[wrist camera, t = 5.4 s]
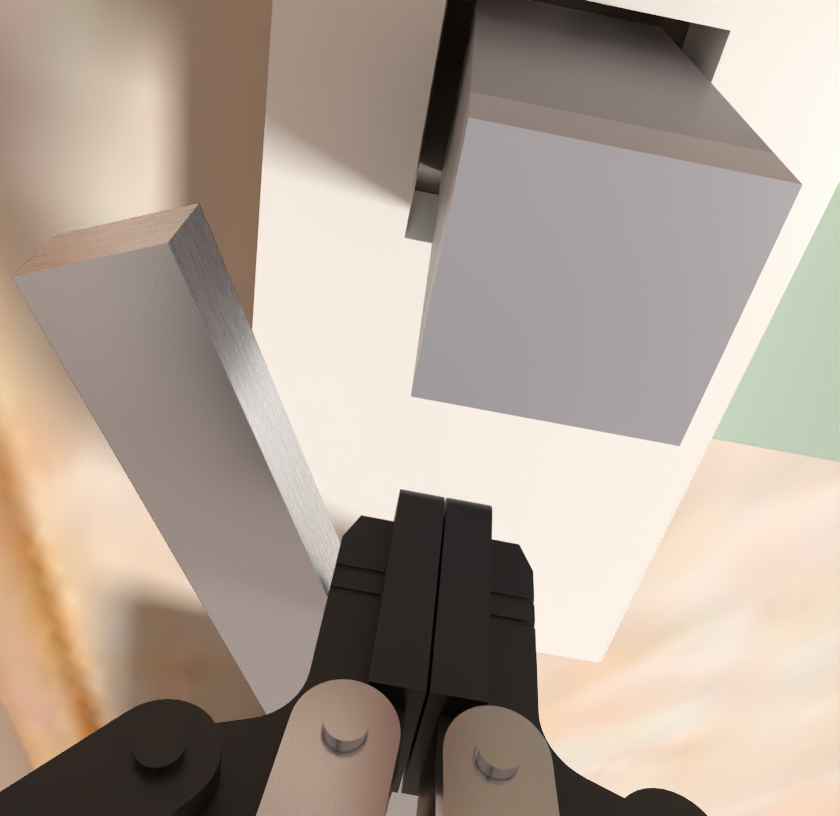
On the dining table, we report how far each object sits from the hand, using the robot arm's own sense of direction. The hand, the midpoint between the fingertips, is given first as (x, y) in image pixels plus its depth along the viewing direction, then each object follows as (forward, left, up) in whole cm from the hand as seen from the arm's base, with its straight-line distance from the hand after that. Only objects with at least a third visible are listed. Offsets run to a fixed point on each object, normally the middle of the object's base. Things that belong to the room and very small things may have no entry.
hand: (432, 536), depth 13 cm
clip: (+3, -1, 0) cm, 3 cm away
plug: (-4, +1, -11) cm, 12 cm away
